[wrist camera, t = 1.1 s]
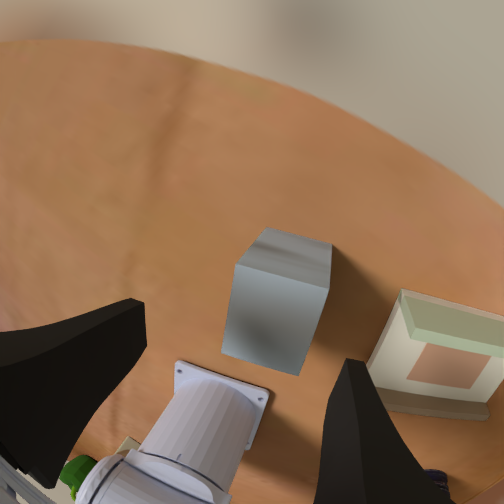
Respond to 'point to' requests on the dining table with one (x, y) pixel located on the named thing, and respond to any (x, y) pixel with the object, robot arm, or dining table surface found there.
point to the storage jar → (439, 480)
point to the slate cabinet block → (277, 300)
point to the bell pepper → (76, 473)
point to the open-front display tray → (438, 358)
